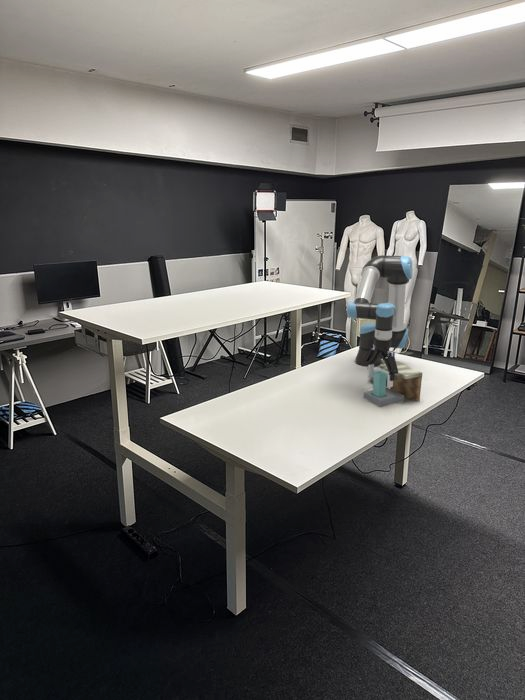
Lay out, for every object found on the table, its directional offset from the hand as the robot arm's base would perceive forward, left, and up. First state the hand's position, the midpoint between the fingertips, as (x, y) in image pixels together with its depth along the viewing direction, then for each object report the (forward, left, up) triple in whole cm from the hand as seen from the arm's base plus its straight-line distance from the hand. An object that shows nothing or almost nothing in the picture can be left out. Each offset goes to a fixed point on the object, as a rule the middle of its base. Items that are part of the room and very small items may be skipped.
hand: (379, 382), depth 219 cm
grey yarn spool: (-18, +17, -9) cm, 26 cm away
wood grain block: (0, +12, -9) cm, 15 cm away
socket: (0, +3, -9) cm, 10 cm away
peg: (0, 0, -9) cm, 9 cm away
